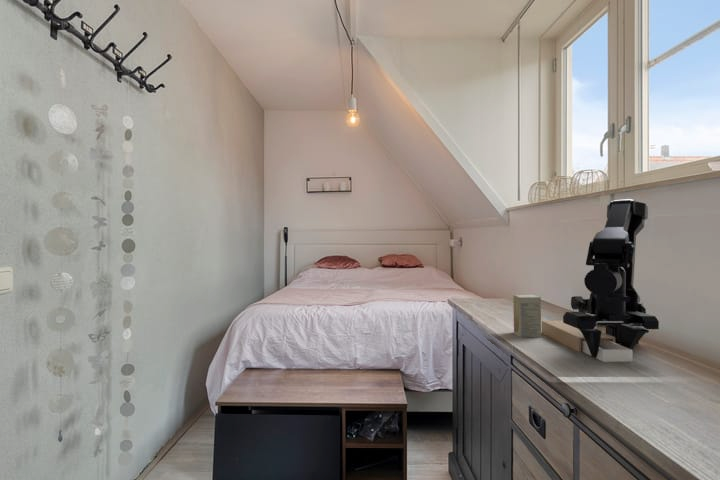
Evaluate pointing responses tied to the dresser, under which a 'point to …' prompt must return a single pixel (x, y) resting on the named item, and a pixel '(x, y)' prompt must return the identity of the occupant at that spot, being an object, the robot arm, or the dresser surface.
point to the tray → (610, 351)
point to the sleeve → (567, 334)
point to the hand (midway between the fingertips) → (609, 356)
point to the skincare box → (527, 315)
